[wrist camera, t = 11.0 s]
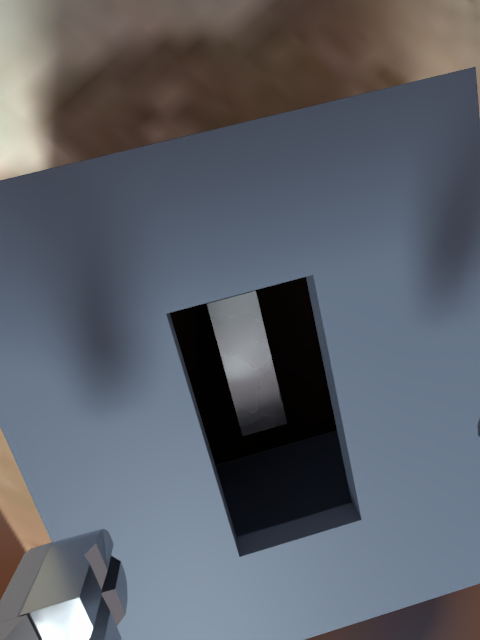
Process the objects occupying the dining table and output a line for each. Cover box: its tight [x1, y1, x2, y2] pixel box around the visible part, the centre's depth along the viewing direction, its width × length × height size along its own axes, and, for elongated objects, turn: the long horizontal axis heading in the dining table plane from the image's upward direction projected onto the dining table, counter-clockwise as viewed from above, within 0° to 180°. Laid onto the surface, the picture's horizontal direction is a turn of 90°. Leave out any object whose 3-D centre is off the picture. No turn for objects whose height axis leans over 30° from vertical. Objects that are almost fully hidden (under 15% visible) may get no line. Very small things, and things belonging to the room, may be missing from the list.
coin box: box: [0, 67, 480, 640], centre depth 16 cm, size 16×14×10 cm
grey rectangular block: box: [207, 290, 287, 436], centre depth 19 cm, size 6×2×5 cm, turn 14°
